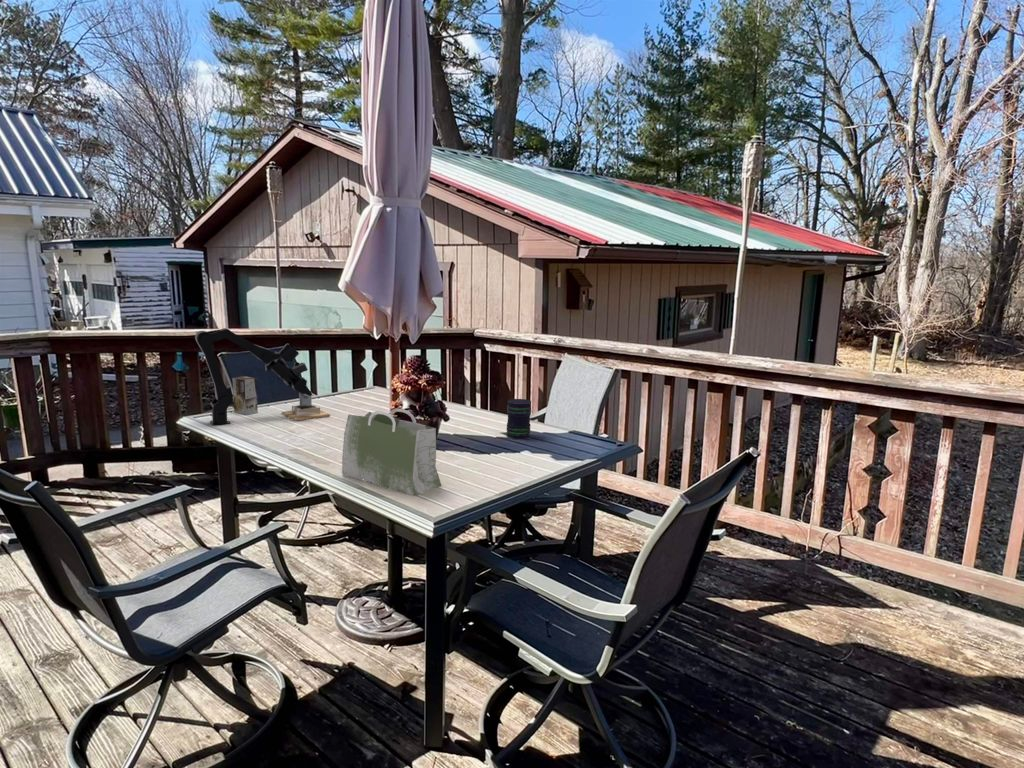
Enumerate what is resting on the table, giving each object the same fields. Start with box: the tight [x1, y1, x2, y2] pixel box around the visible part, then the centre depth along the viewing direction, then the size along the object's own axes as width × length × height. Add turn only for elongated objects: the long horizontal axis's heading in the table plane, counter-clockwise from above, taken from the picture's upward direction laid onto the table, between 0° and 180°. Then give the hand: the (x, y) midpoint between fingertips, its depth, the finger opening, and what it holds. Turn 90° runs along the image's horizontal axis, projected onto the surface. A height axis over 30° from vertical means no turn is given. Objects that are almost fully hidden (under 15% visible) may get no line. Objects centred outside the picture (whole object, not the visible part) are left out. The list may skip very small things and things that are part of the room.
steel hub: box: [298, 390, 313, 409], centre depth 283 cm, size 5×5×10 cm
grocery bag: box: [341, 408, 442, 497], centre depth 199 cm, size 32×14×23 cm, turn 58°
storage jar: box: [506, 398, 532, 440], centre depth 259 cm, size 10×10×15 cm
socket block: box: [281, 403, 331, 422], centre depth 284 cm, size 16×16×4 cm
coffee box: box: [232, 375, 259, 416], centre depth 285 cm, size 9×6×16 cm
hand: (308, 393), depth 284 cm, fingers open, 9 cm apart
